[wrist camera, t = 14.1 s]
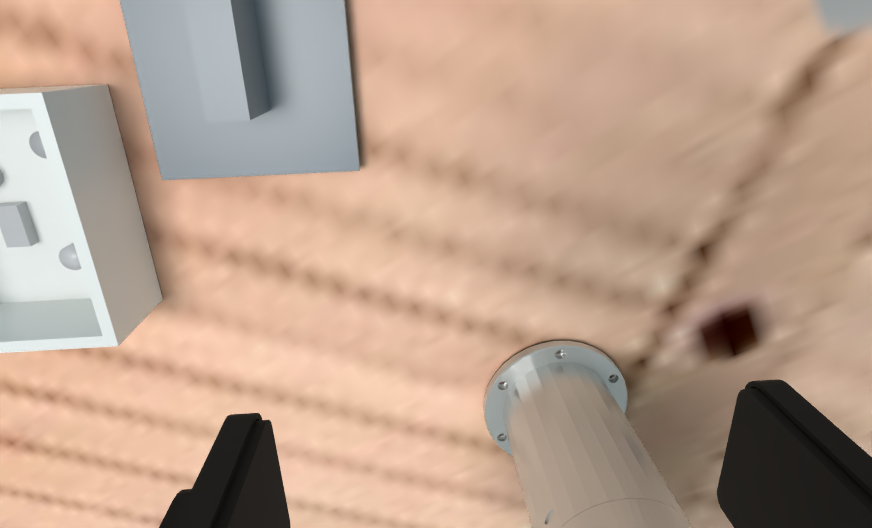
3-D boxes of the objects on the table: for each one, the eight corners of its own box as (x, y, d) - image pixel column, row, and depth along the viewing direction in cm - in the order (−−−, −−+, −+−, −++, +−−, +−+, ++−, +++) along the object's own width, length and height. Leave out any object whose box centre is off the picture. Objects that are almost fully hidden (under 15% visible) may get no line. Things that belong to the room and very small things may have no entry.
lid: (361, 165, 39) (353, 188, 33) (172, 174, 38) (127, 199, 32) (337, -104, 33) (321, -140, 26) (110, -98, 32) (39, -133, 26)
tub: (162, 299, 42) (118, 345, 35) (-9, 308, 41) (-86, 357, 35) (107, 84, 35) (41, 92, 29) (-95, 92, 35) (-208, 102, 28)
